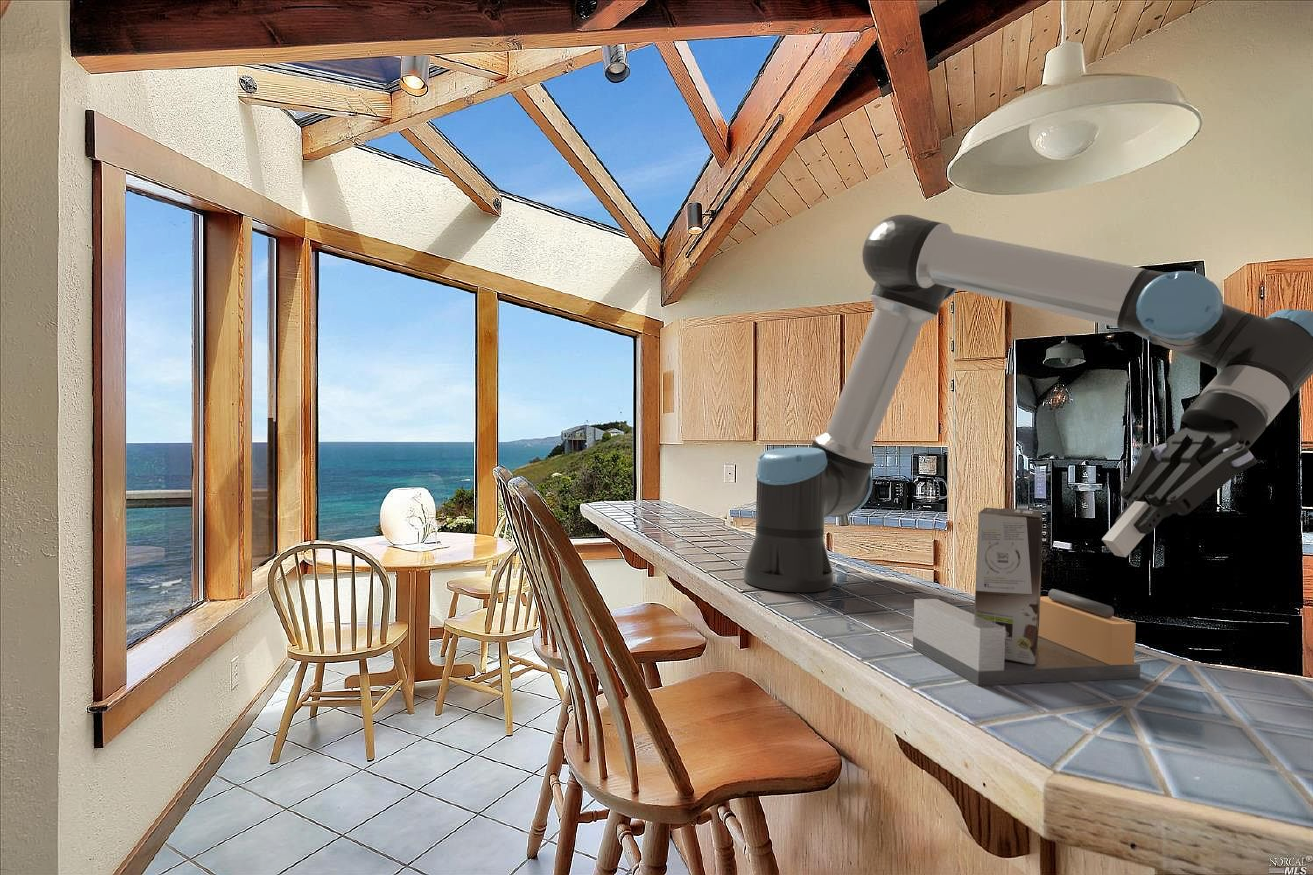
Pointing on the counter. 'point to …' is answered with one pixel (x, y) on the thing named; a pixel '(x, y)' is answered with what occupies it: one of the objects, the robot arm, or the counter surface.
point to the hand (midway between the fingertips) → (1113, 548)
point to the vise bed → (1041, 670)
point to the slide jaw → (1086, 628)
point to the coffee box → (1010, 577)
